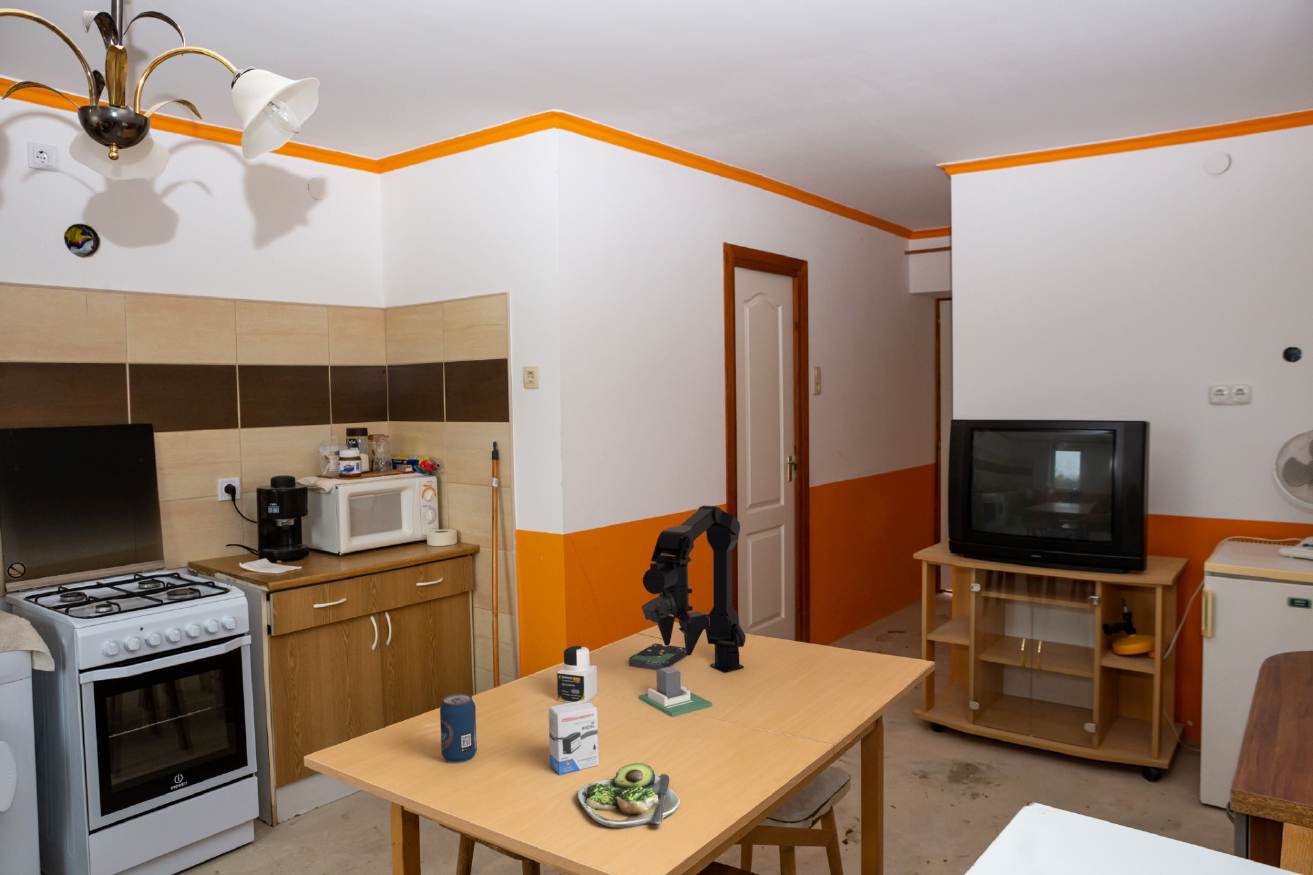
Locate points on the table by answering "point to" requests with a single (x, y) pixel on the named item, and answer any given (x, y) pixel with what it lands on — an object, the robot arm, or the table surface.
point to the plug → (669, 682)
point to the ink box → (573, 736)
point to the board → (675, 702)
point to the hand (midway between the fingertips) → (677, 650)
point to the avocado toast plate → (630, 797)
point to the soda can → (458, 728)
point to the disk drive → (657, 657)
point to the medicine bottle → (576, 676)
